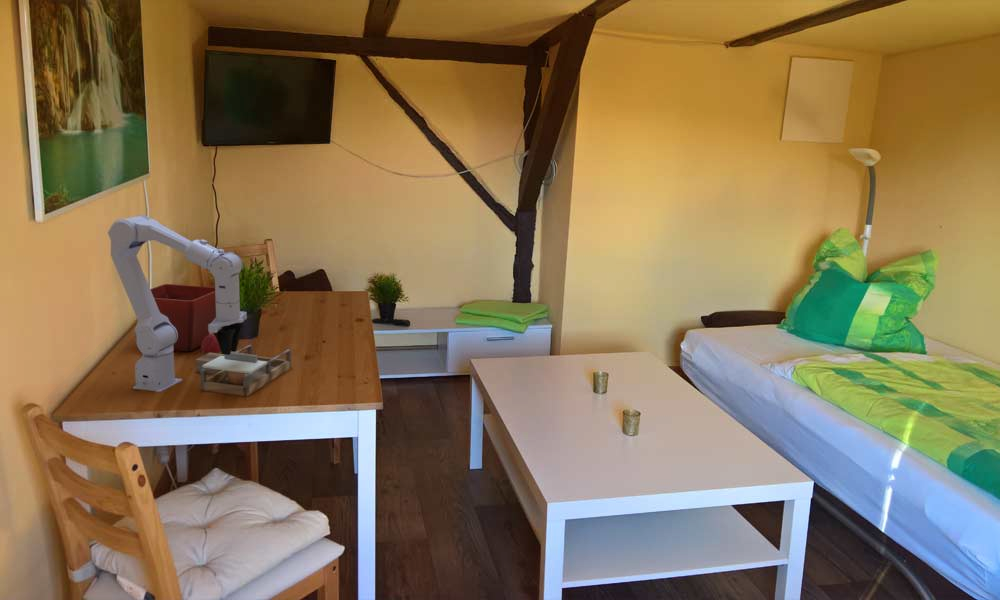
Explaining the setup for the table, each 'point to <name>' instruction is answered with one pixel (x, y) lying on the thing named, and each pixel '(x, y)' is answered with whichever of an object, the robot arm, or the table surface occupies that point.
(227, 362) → the lid
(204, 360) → the stand
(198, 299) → the plant pot
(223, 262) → the robot arm
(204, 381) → the cold frame
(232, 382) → the pot
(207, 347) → the onion
